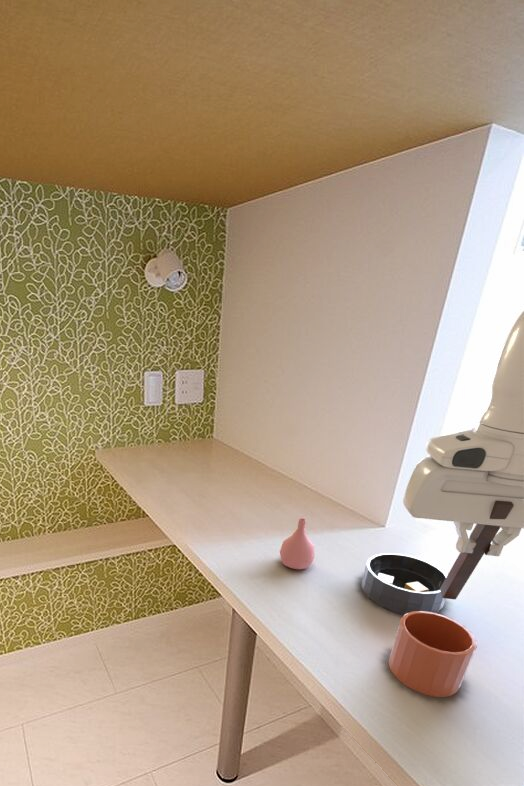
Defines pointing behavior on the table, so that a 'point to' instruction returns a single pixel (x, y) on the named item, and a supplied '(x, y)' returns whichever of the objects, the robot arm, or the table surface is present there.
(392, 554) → the bowl
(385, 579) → the maple block
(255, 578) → the table surface
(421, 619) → the holder
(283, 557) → the pink teardrop shaped piece
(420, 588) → the mustard block
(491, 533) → the stirring stick
